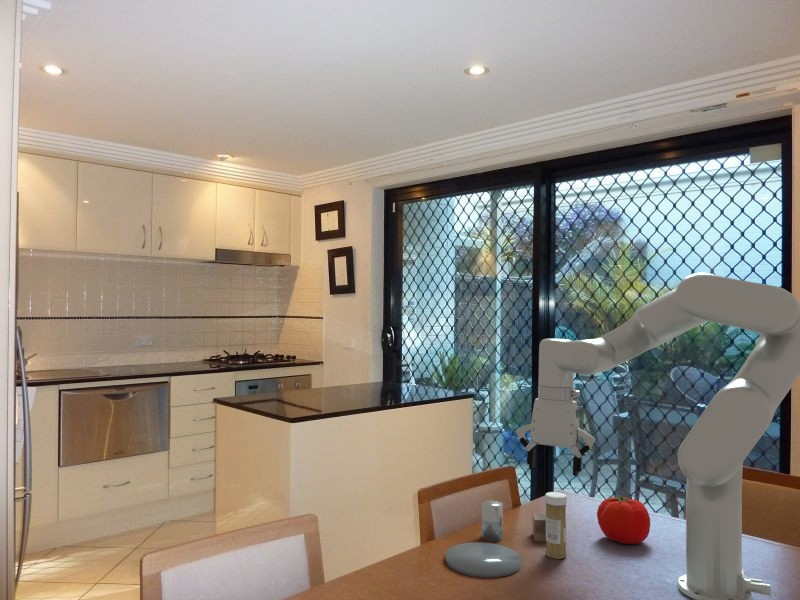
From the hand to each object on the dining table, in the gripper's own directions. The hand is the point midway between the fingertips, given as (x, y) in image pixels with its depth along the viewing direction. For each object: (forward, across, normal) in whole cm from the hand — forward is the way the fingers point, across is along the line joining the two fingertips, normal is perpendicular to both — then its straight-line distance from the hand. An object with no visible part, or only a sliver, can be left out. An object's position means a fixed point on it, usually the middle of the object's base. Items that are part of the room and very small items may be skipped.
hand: (553, 471), depth 135 cm
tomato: (+18, -13, -17) cm, 28 cm away
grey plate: (+19, +12, +11) cm, 25 cm away
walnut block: (+19, +4, -10) cm, 21 cm away
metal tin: (+19, +15, -4) cm, 24 cm away
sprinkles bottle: (+19, -1, 0) cm, 19 cm away
